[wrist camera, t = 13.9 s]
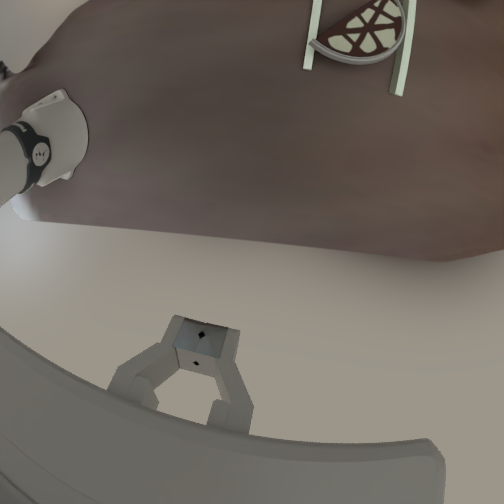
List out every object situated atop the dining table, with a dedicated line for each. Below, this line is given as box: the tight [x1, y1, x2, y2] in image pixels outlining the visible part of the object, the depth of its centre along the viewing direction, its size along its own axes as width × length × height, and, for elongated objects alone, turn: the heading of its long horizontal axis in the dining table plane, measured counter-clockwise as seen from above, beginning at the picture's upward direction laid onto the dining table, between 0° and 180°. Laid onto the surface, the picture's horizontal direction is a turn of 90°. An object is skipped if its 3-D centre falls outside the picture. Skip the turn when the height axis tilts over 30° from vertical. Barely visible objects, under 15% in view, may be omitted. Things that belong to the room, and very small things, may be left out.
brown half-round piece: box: [308, 0, 406, 65], centre depth 21 cm, size 12×6×10 cm, turn 136°
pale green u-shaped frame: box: [303, 0, 416, 96], centre depth 22 cm, size 13×18×3 cm
